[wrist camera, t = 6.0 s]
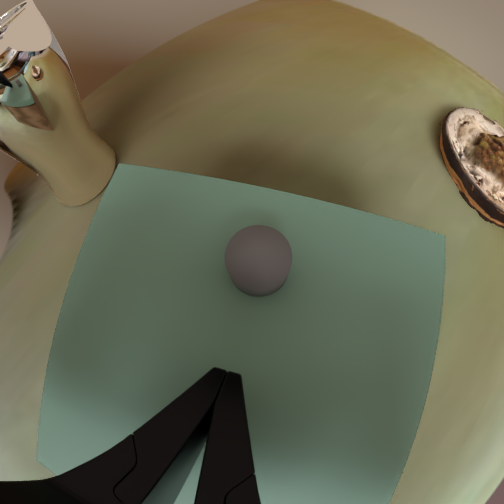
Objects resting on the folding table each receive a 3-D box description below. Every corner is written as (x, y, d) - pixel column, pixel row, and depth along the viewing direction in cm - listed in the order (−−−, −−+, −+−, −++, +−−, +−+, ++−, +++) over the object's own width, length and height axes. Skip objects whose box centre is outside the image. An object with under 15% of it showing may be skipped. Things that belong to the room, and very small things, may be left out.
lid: (352, 547, 7) (364, 573, 5) (49, 456, 8) (20, 466, 6) (433, 244, 11) (461, 224, 9) (127, 175, 12) (108, 147, 10)
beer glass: (80, 136, 22) (3, 12, 8) (137, 146, 21) (58, -17, 7) (39, 201, 20) (-71, 90, 6) (92, 223, 19) (-48, 75, 5)
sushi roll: (491, 277, 17) (525, 260, 13) (391, 127, 22) (407, 93, 18) (547, 211, 19) (569, 194, 15) (471, 104, 23) (485, 81, 19)
